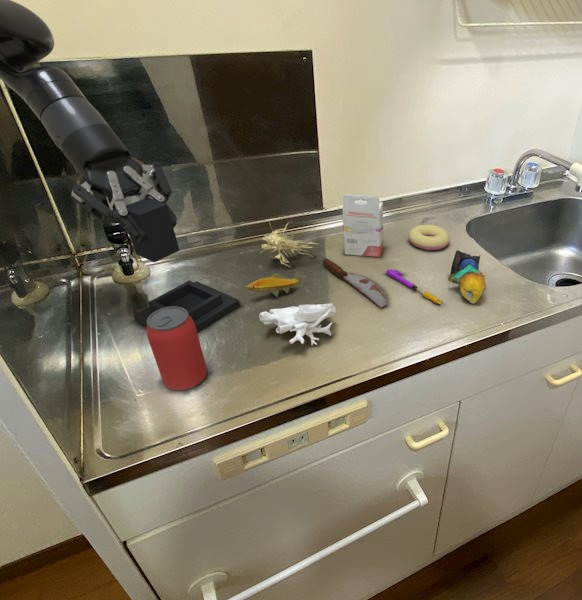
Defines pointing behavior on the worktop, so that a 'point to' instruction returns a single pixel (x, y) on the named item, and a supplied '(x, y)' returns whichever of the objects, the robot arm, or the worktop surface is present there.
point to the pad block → (153, 229)
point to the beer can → (176, 348)
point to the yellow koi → (276, 284)
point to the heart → (300, 320)
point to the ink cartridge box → (362, 225)
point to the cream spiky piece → (282, 244)
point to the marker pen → (411, 284)
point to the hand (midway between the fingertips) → (158, 232)
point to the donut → (429, 237)
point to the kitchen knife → (359, 283)
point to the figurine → (468, 276)
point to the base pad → (192, 304)
